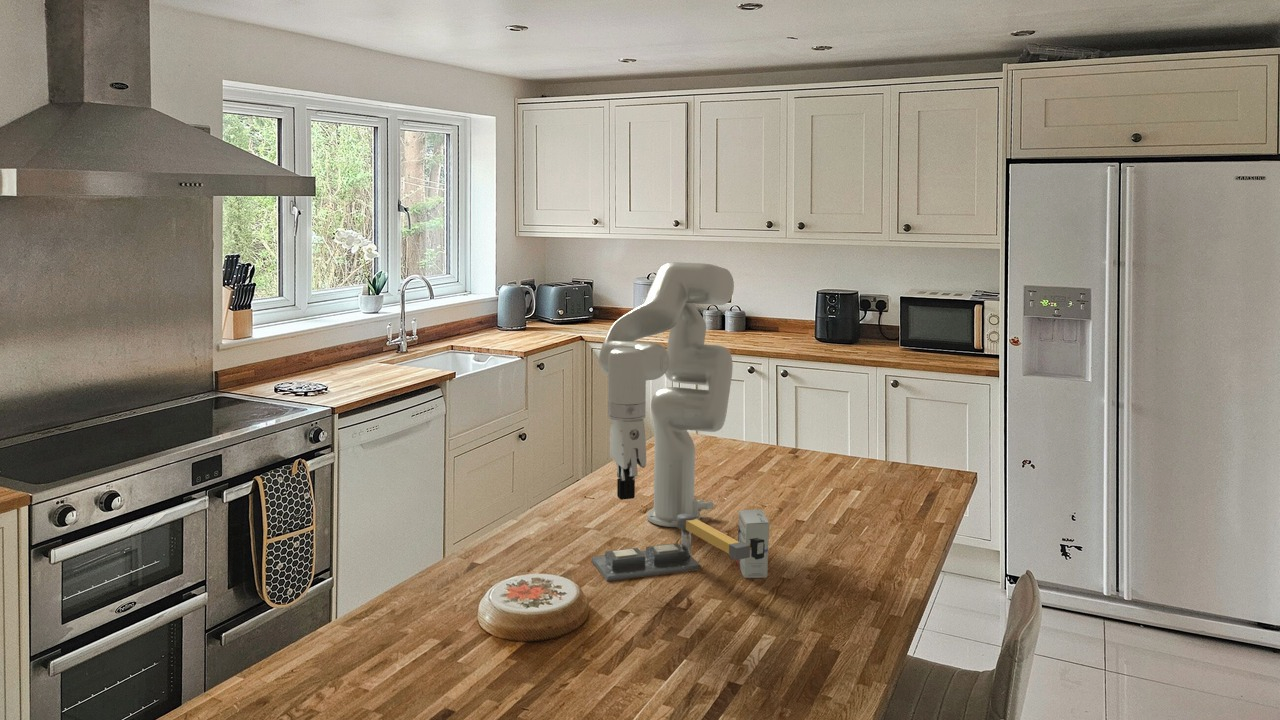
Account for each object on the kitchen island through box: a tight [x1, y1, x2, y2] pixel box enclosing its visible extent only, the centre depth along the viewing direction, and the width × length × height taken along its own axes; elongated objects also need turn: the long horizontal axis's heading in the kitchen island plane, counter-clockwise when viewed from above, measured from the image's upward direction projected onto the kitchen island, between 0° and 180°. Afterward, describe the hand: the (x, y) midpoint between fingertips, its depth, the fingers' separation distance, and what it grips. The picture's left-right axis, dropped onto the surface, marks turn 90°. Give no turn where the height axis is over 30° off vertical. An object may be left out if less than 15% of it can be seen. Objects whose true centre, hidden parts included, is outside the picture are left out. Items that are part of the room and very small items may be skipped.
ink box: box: [736, 508, 770, 579], centre depth 199 cm, size 9×5×12 cm, turn 5°
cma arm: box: [676, 514, 750, 561], centre depth 195 cm, size 22×4×2 cm, turn 30°
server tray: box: [591, 529, 701, 582], centre depth 201 cm, size 20×11×7 cm, turn 109°
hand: (625, 497), depth 197 cm, fingers closed
